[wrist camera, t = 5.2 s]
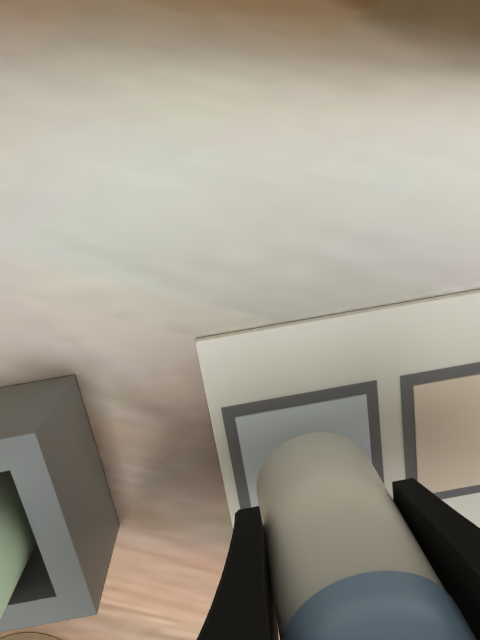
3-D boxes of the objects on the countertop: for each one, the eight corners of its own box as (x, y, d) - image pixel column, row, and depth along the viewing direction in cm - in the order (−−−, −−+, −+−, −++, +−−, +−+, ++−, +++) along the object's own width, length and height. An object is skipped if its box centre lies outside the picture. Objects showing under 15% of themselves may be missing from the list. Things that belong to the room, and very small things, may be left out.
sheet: (547, 523, 18) (554, 531, 17) (244, 579, 17) (244, 589, 17) (561, 275, 15) (571, 277, 14) (195, 338, 14) (195, 343, 14)
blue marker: (376, 524, 15) (509, 797, 8) (260, 541, 15) (304, 831, 8) (374, 423, 14) (527, 646, 7) (248, 440, 14) (288, 684, 7)
